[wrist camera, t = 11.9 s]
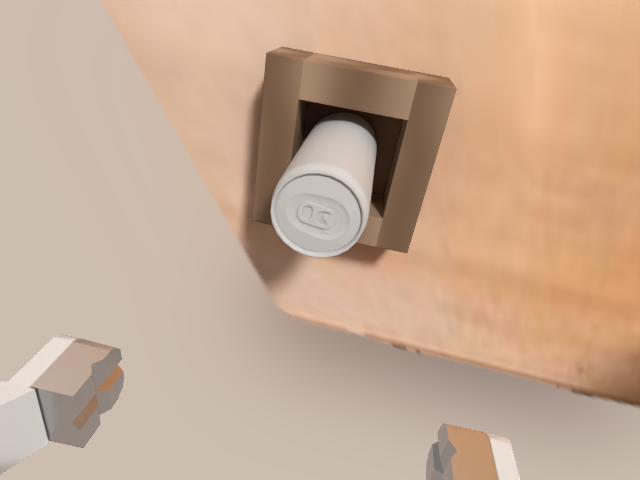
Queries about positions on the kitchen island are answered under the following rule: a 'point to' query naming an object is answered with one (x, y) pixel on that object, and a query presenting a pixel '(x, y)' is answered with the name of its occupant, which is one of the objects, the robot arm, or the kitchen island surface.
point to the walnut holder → (362, 95)
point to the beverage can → (327, 187)
